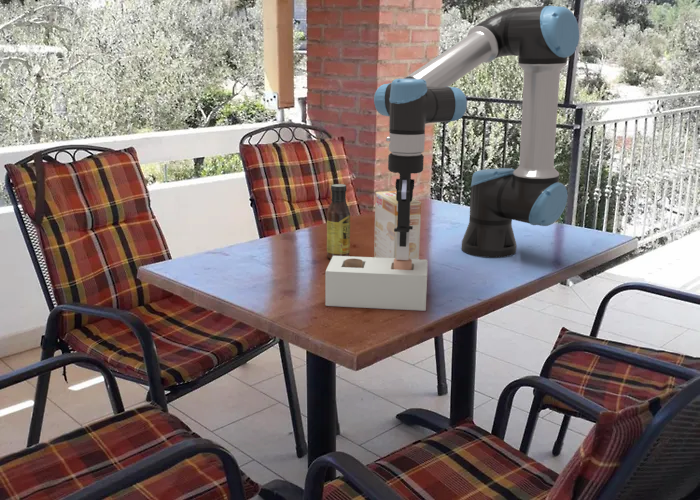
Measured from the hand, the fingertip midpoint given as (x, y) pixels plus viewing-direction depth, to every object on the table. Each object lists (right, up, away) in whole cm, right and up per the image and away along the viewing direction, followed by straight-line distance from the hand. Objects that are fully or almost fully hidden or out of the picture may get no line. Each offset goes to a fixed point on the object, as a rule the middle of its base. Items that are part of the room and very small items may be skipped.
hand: (402, 259), depth 158 cm
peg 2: (0, -8, +2) cm, 9 cm away
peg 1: (-11, -8, +4) cm, 14 cm away
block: (-5, -9, +3) cm, 11 cm away
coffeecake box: (0, -4, +23) cm, 23 cm away
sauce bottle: (-15, 0, +34) cm, 37 cm away
